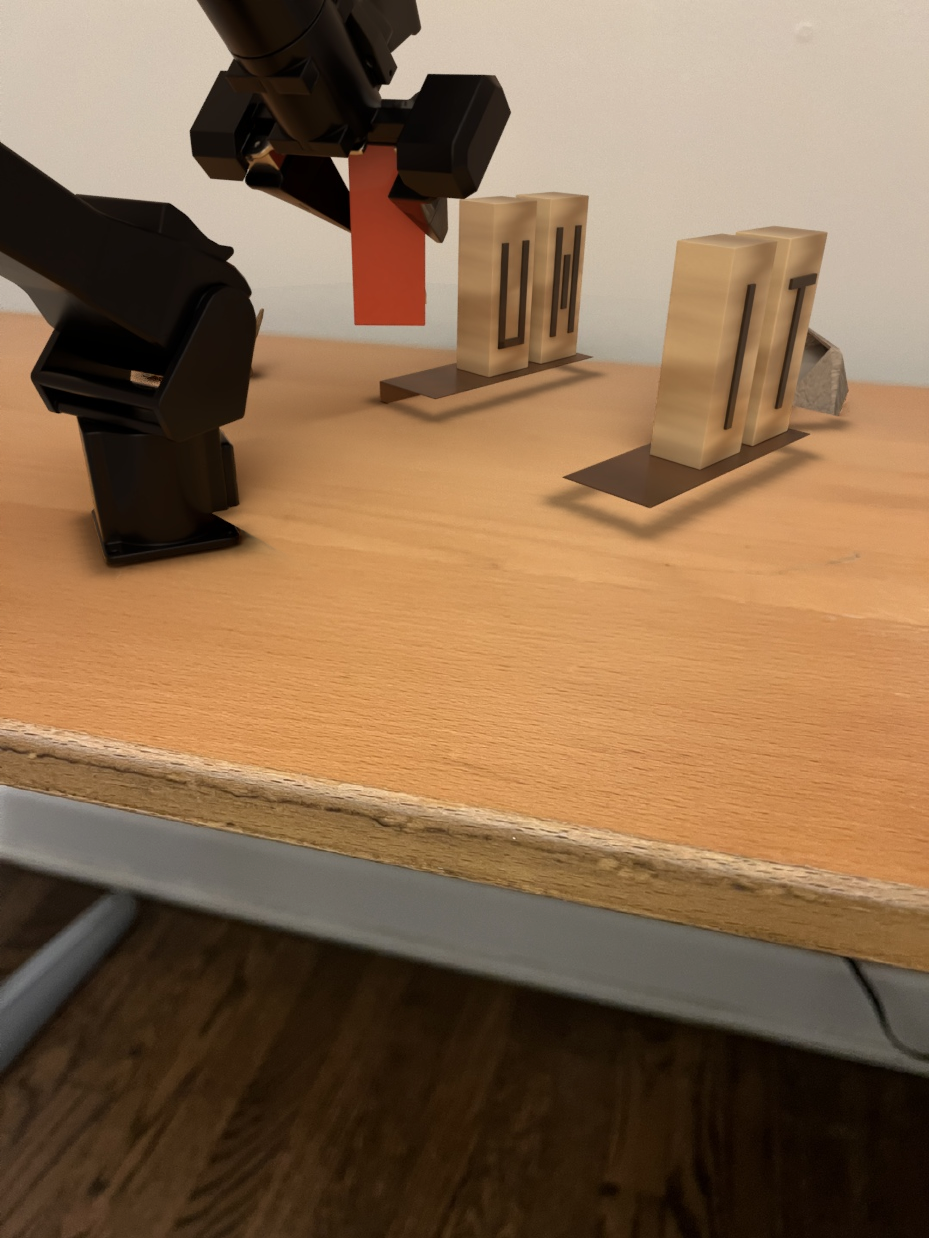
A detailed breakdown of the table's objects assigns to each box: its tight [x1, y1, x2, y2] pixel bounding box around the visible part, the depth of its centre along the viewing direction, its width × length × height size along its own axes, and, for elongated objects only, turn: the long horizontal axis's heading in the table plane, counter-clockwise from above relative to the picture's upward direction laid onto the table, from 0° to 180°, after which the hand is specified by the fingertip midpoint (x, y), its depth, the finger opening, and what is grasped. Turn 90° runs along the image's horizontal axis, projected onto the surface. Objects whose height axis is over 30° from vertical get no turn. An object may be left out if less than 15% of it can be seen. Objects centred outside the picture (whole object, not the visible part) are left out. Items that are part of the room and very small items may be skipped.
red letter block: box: [347, 145, 427, 327], centre depth 57 cm, size 4×5×12 cm
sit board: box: [562, 225, 828, 509], centre depth 52 cm, size 18×6×14 cm, turn 135°
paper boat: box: [792, 326, 849, 417], centre depth 67 cm, size 12×6×9 cm
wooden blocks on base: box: [379, 191, 594, 404], centre depth 69 cm, size 18×6×14 cm, turn 135°
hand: (400, 232), depth 58 cm, fingers closed on red letter block, 6 cm apart
